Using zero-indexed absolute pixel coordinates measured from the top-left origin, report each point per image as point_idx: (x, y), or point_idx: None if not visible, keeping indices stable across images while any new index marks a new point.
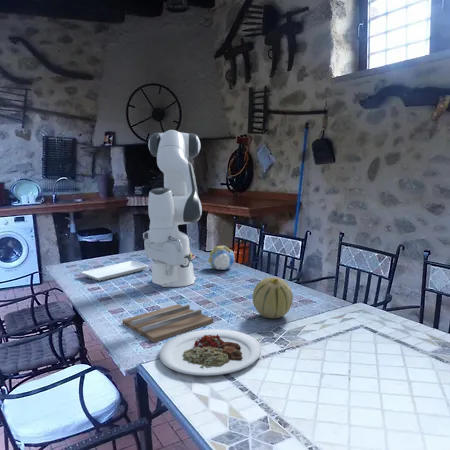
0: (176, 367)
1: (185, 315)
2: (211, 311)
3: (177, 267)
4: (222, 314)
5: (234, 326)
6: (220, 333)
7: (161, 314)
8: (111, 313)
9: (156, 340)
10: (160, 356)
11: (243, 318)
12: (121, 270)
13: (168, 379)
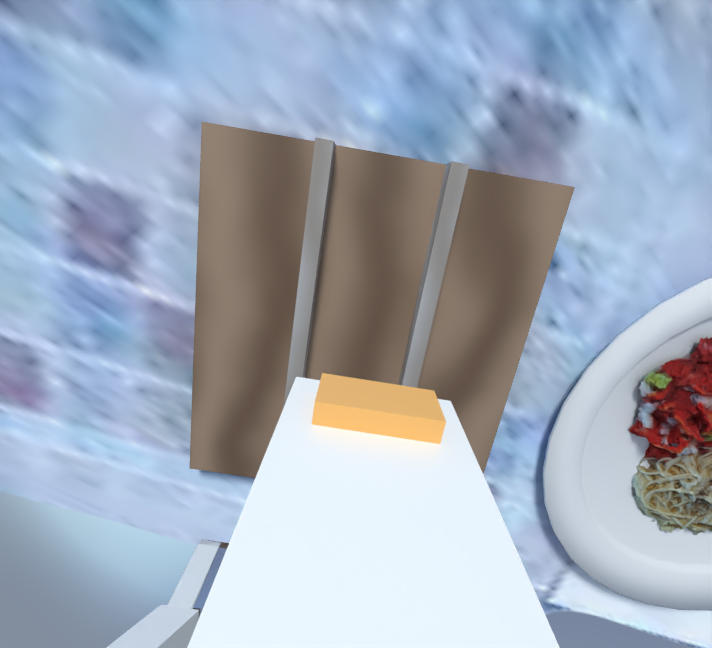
0: (694, 591)
1: (439, 289)
2: (438, 36)
3: (506, 542)
4: (537, 34)
5: (704, 156)
6: (705, 307)
7: (306, 349)
8: (27, 408)
9: None
10: (604, 583)
11: (704, 3)
12: None
13: (687, 614)
